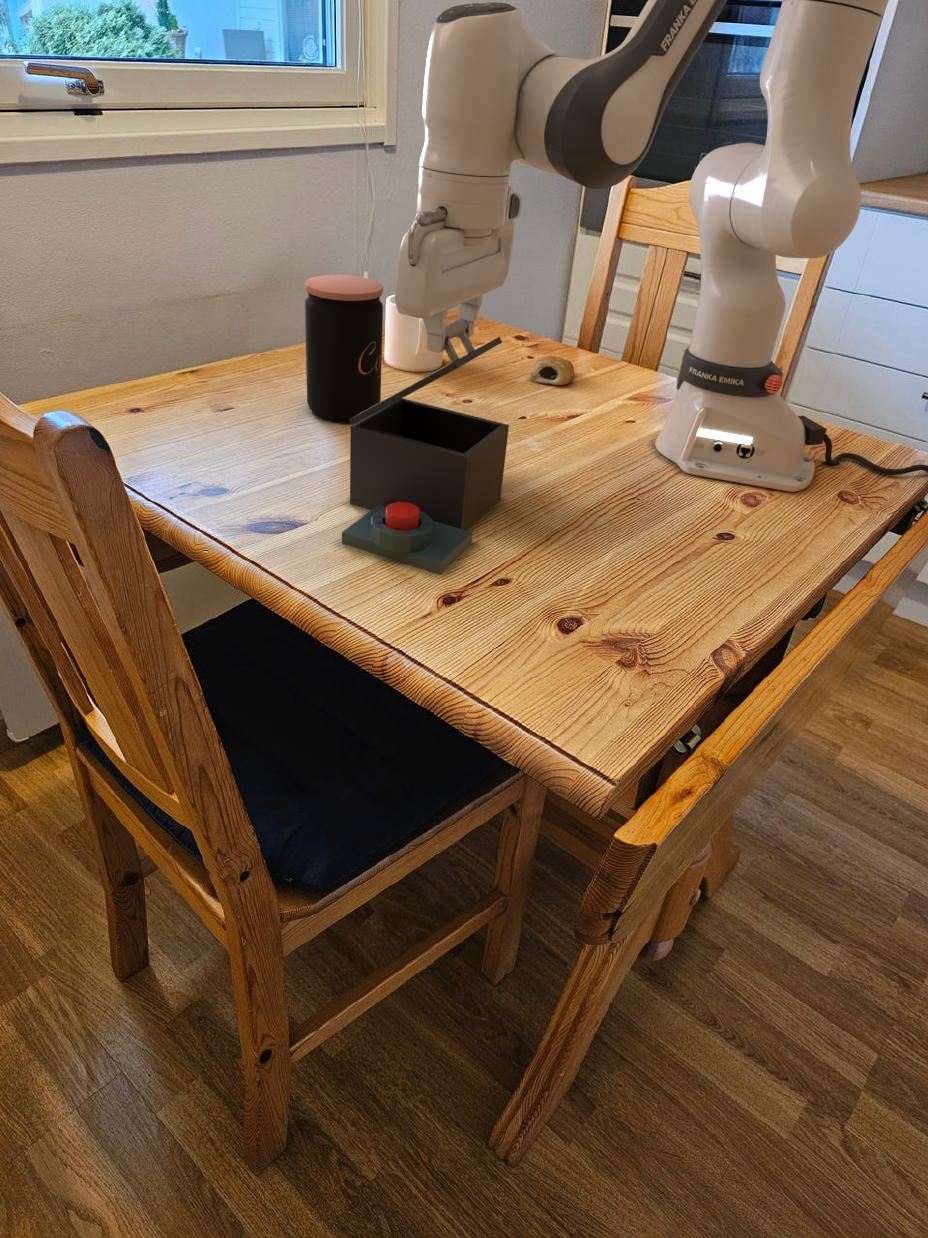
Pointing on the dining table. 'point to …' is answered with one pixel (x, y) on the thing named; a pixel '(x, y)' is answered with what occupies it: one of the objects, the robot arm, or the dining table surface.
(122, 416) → the dining table surface
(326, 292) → the coffee jar
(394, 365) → the mug
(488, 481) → the dark grey box
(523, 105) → the robot arm
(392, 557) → the control block
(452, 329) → the lid
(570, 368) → the pastry
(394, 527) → the button
